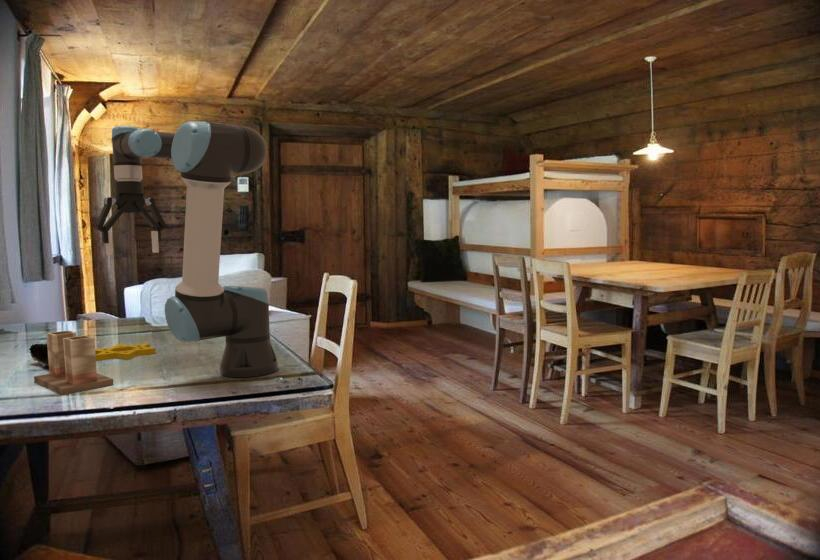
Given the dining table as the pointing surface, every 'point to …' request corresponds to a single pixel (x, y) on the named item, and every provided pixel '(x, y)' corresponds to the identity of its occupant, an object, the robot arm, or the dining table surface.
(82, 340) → the sleeve
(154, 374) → the dining table surface
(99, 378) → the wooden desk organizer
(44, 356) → the rock
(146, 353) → the star of david
